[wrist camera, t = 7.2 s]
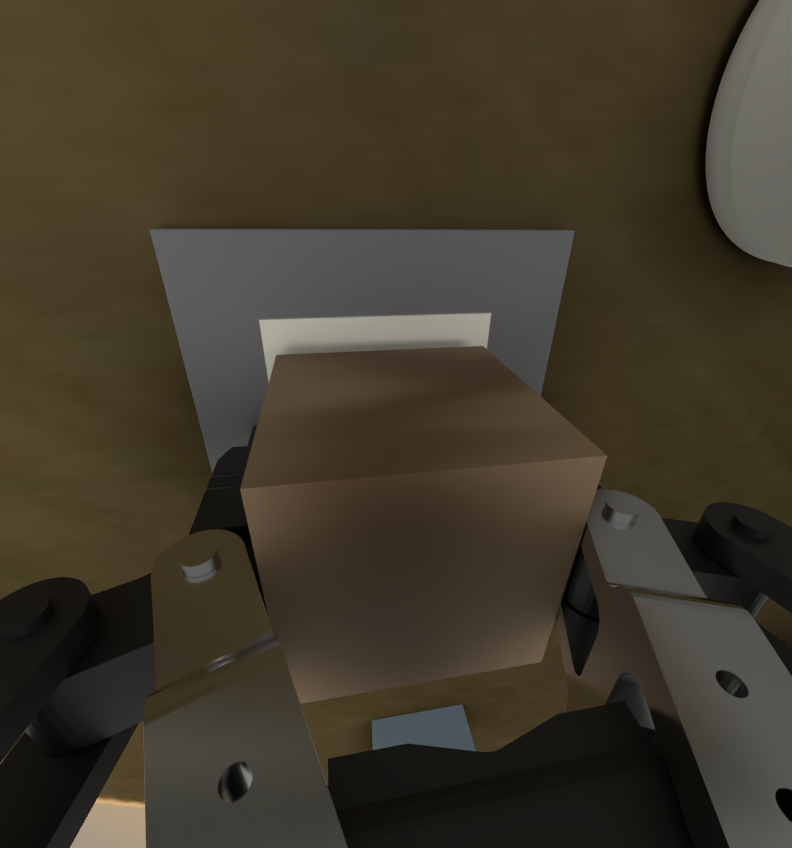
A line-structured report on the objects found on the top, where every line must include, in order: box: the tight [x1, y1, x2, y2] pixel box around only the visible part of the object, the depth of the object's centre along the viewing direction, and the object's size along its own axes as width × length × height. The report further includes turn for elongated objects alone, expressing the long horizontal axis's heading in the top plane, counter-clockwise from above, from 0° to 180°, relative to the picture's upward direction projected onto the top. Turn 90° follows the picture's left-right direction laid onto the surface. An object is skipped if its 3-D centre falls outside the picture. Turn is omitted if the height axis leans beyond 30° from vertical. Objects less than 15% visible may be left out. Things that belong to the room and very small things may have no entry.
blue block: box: [372, 704, 476, 751], centre depth 21 cm, size 5×5×5 cm
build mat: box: [150, 228, 575, 473], centre depth 12 cm, size 10×10×1 cm
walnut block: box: [240, 346, 607, 704], centre depth 9 cm, size 5×5×5 cm
